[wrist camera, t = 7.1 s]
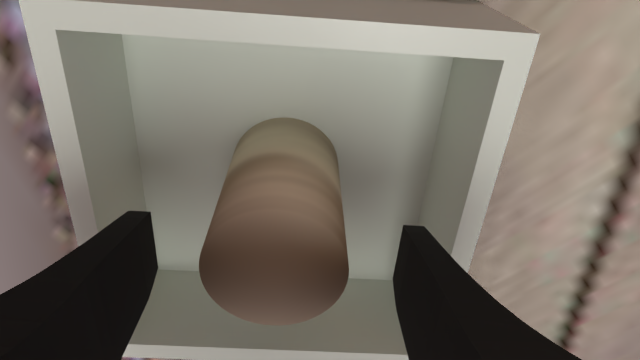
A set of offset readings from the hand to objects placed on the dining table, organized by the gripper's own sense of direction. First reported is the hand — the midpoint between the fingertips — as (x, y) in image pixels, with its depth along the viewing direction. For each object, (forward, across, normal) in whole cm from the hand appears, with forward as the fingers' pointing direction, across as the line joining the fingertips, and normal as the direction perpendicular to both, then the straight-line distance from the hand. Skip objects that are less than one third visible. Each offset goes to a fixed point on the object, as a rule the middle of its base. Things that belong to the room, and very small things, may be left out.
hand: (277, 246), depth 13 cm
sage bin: (+6, 0, 0) cm, 6 cm away
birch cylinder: (+5, 0, 0) cm, 5 cm away
